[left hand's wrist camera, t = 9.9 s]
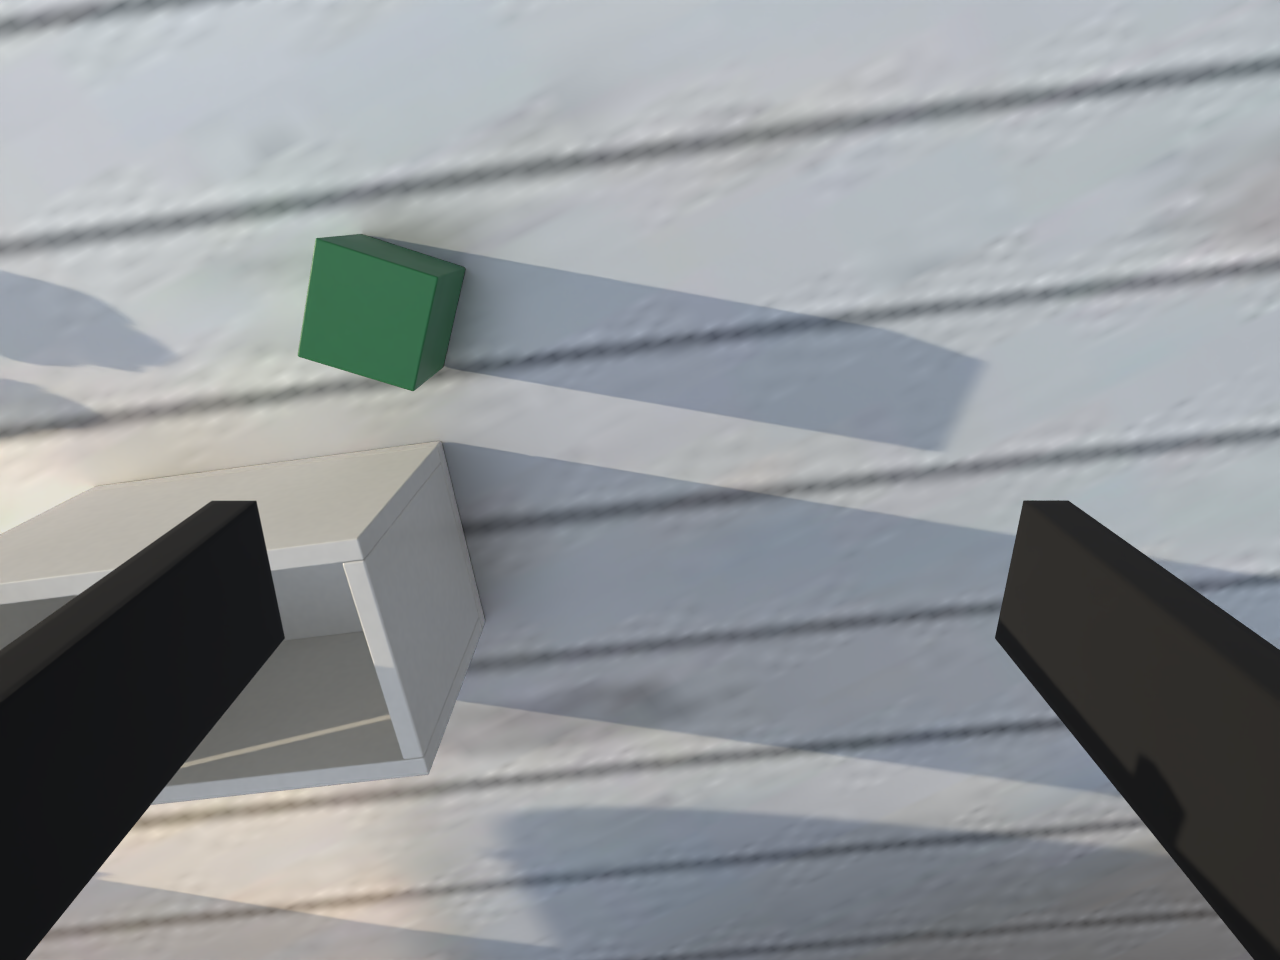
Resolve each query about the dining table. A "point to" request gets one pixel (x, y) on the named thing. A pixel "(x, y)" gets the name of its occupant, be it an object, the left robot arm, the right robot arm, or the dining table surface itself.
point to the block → (379, 309)
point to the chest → (297, 610)
